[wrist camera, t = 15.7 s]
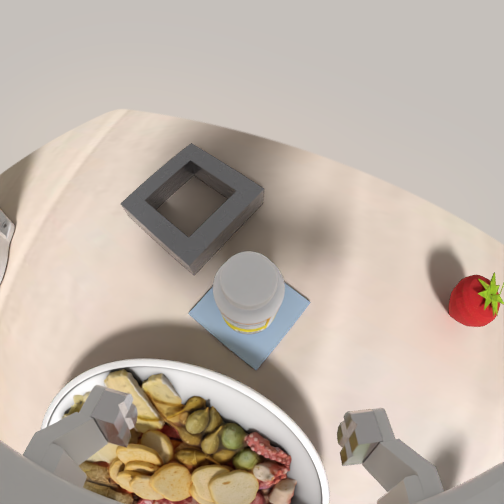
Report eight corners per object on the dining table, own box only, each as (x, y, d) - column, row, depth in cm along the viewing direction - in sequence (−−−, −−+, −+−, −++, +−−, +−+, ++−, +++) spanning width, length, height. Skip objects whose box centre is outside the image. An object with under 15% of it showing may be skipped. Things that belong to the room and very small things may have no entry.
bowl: (52, 505, 17) (20, 520, 9) (95, 319, 28) (57, 302, 21) (267, 586, 14) (272, 620, 6) (353, 403, 25) (386, 411, 18)
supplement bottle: (251, 272, 30) (254, 226, 21) (286, 312, 29) (306, 281, 19) (210, 304, 29) (192, 271, 19) (244, 346, 27) (243, 334, 18)
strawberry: (431, 284, 30) (480, 253, 21) (469, 297, 30) (518, 271, 20) (427, 329, 28) (482, 309, 19) (467, 338, 27) (520, 321, 18)
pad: (189, 314, 29) (188, 313, 28) (244, 253, 31) (244, 251, 31) (256, 370, 26) (256, 370, 26) (309, 303, 29) (310, 302, 29)
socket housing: (128, 216, 33) (120, 203, 30) (194, 158, 37) (191, 143, 34) (194, 275, 30) (189, 265, 28) (262, 203, 34) (264, 189, 31)
